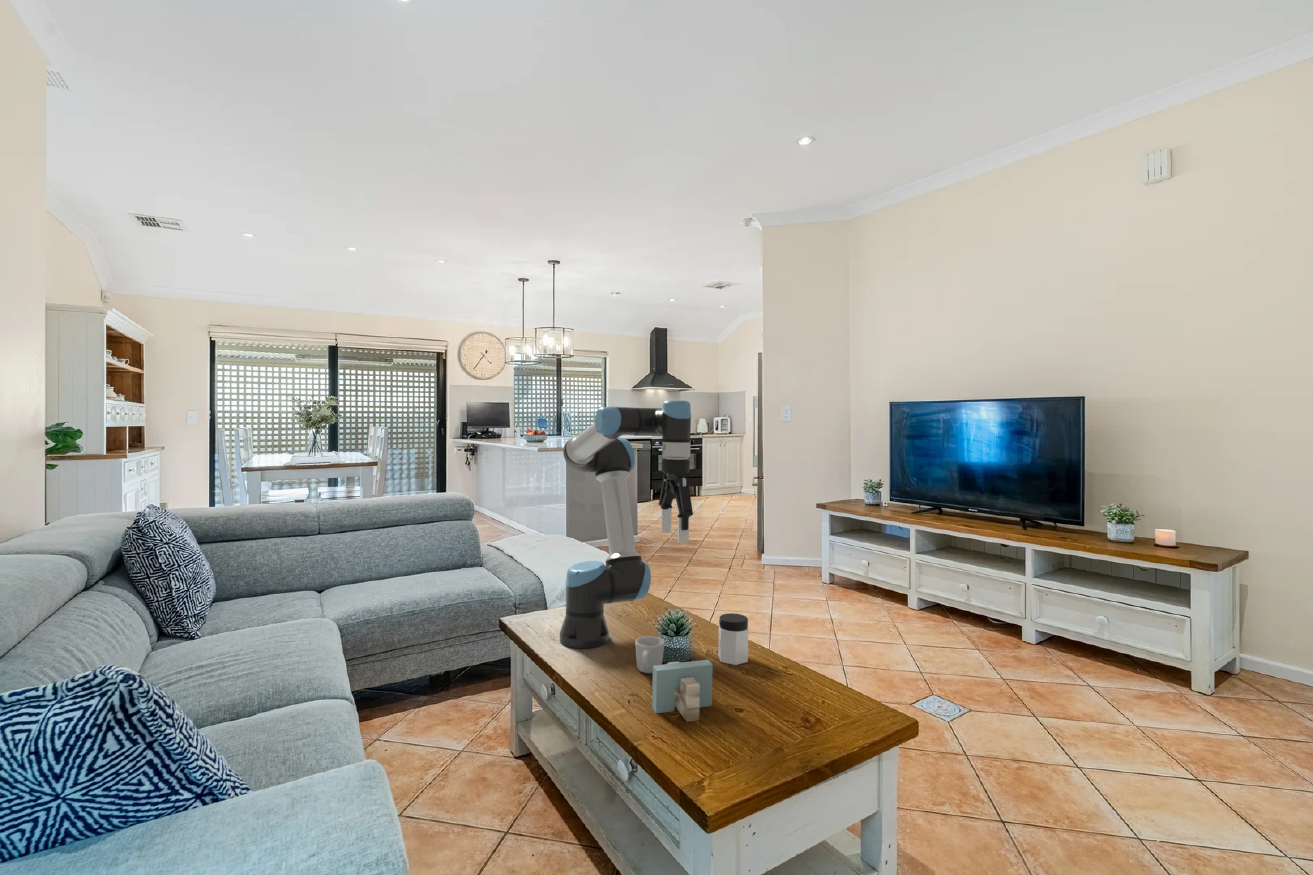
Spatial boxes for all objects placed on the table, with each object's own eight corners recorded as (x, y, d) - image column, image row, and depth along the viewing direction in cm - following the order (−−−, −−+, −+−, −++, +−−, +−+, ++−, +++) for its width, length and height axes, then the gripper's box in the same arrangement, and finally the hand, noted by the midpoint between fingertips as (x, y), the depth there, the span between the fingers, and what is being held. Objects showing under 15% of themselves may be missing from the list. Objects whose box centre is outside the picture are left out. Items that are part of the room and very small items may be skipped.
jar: (716, 653, 176) (717, 612, 176) (744, 653, 176) (744, 612, 176) (720, 665, 167) (721, 622, 167) (749, 665, 167) (750, 622, 167)
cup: (658, 682, 156) (659, 651, 156) (629, 678, 157) (629, 648, 157) (666, 665, 166) (666, 637, 166) (638, 662, 168) (638, 634, 168)
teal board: (652, 707, 142) (652, 665, 141) (706, 700, 146) (707, 659, 146) (656, 713, 139) (656, 670, 139) (711, 705, 143) (712, 664, 143)
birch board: (666, 694, 149) (667, 662, 148) (678, 692, 150) (678, 661, 149) (686, 721, 135) (687, 686, 135) (699, 719, 136) (699, 685, 136)
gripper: (648, 455, 171) (647, 529, 171) (678, 461, 147) (676, 547, 148) (673, 455, 173) (672, 528, 174) (706, 461, 149) (705, 545, 150)
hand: (674, 537), depth 161 cm, fingers open, 13 cm apart
